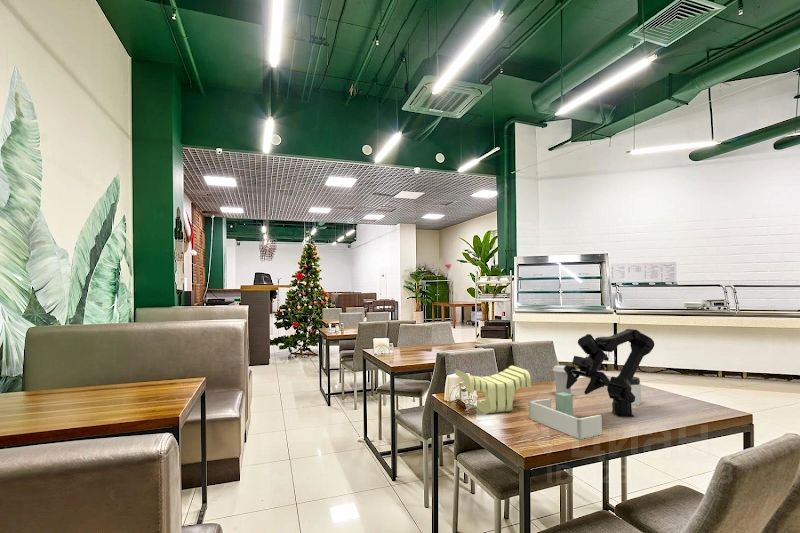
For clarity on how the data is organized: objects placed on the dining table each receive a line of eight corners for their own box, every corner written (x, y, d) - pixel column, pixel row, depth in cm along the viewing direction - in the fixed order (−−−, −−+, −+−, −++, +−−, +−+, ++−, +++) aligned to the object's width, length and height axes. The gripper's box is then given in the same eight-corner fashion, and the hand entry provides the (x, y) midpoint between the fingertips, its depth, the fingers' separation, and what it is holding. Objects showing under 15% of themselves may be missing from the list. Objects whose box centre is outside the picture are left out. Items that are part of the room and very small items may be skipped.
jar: (645, 404, 180) (644, 379, 181) (631, 406, 178) (630, 380, 179) (630, 399, 189) (629, 375, 190) (616, 400, 187) (615, 376, 188)
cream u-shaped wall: (549, 414, 166) (549, 398, 167) (602, 434, 142) (601, 415, 143) (529, 418, 162) (528, 401, 162) (580, 439, 138) (579, 419, 138)
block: (564, 423, 155) (563, 392, 156) (573, 426, 151) (572, 394, 152) (556, 424, 153) (555, 393, 154) (565, 428, 149) (563, 396, 150)
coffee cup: (564, 399, 190) (562, 368, 192) (549, 394, 199) (548, 365, 200) (577, 397, 194) (576, 367, 195) (563, 392, 203) (562, 364, 204)
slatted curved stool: (470, 417, 164) (470, 375, 165) (456, 406, 179) (455, 368, 180) (531, 411, 171) (530, 371, 173) (512, 401, 187) (511, 365, 188)
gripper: (565, 346, 168) (547, 373, 163) (603, 352, 151) (584, 383, 145) (579, 363, 170) (562, 390, 165) (617, 370, 153) (599, 401, 148)
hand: (575, 391), depth 156 cm, fingers open, 9 cm apart
